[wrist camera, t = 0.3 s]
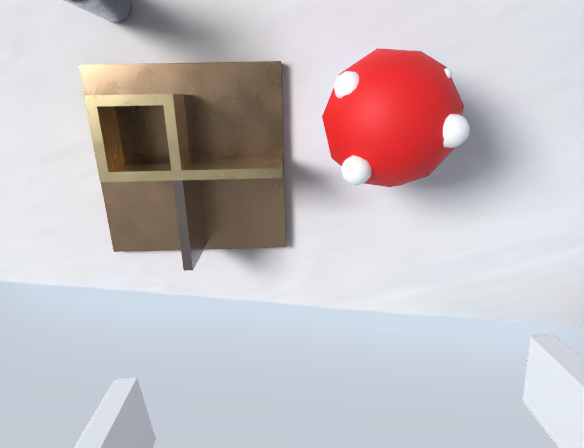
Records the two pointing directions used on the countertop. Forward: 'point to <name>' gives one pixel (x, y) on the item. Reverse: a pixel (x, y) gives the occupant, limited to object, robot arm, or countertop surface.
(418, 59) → the mushroom
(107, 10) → the pin
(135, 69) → the square socket plate
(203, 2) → the countertop surface
